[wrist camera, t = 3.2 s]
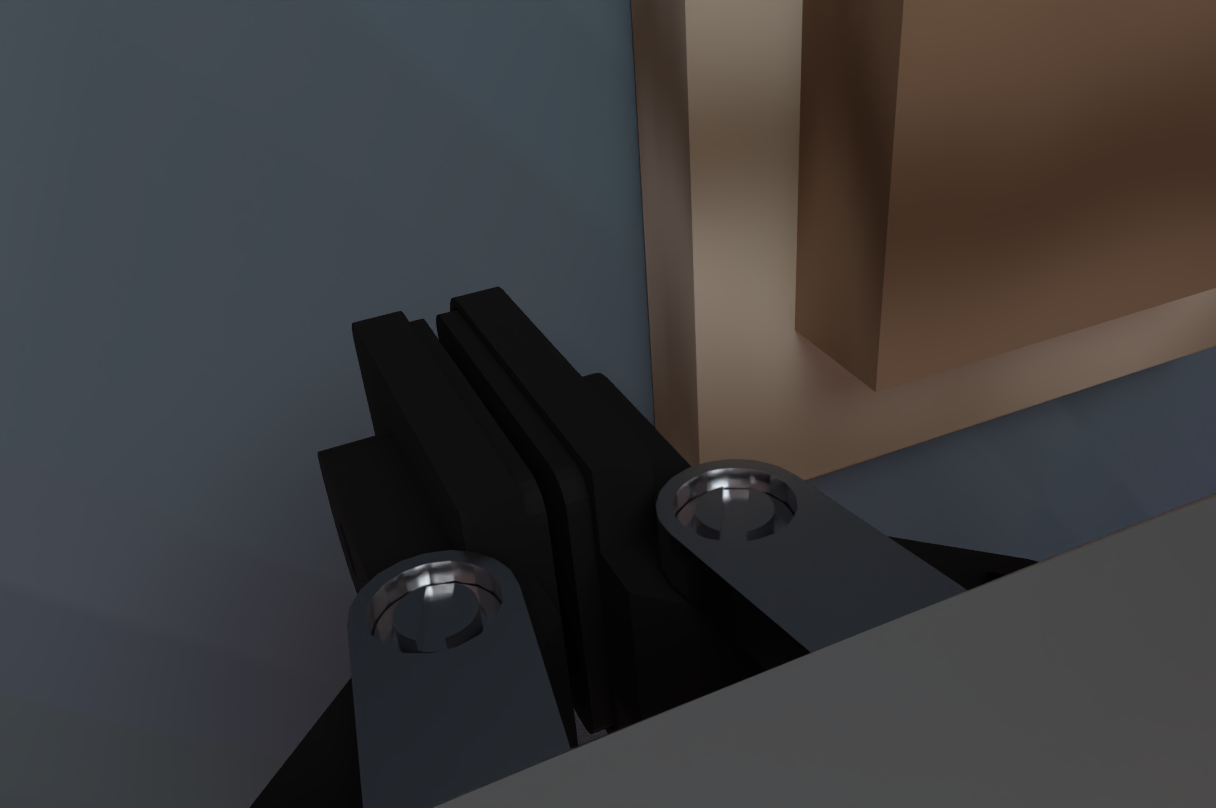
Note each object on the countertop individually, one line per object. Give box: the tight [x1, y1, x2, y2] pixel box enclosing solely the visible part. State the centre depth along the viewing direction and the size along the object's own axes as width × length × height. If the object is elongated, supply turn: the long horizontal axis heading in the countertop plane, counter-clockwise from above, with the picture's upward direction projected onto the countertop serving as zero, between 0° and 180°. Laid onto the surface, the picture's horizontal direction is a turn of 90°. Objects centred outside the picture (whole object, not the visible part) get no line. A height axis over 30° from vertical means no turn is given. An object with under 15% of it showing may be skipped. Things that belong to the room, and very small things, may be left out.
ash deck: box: [631, 0, 1216, 481], centre depth 20 cm, size 14×14×2 cm
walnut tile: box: [795, 0, 1216, 392], centre depth 18 cm, size 7×9×2 cm
